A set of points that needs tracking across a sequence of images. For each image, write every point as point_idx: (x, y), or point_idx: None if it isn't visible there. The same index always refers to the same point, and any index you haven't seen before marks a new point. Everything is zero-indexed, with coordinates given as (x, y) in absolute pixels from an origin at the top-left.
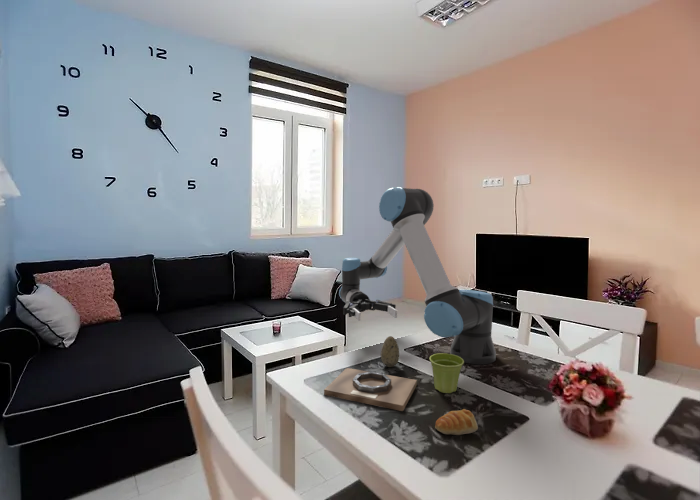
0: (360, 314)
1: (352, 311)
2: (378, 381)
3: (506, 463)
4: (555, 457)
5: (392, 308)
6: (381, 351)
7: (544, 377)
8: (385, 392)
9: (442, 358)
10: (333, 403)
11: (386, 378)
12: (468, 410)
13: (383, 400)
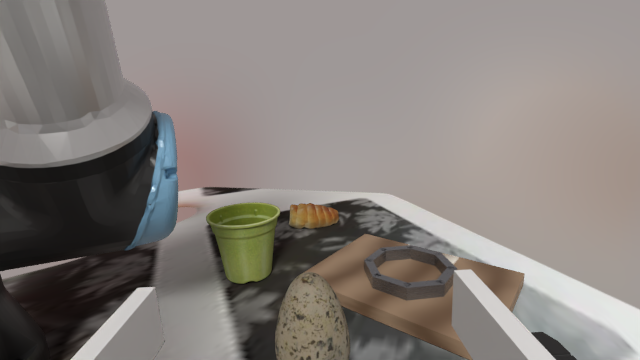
0: (453, 283)
1: (553, 351)
2: None
3: (301, 200)
4: (253, 201)
5: (120, 324)
6: (347, 332)
7: (16, 277)
8: None
9: (228, 235)
10: (491, 264)
11: (373, 263)
12: (291, 206)
13: (394, 242)
